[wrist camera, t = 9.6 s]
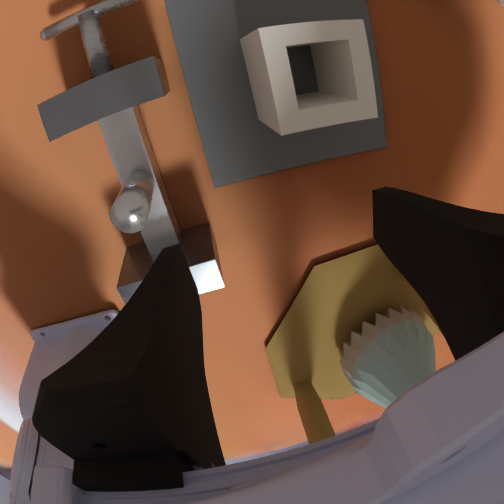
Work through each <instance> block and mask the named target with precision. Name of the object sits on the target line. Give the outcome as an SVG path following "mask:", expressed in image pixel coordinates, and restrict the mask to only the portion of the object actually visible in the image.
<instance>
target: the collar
mask: <svg viewBox="0 0 504 504" xmlns="http://www.w3.org/2000/svg"><path fill="white" fill-rule="evenodd" d="M240 43H241V47H242V51H243V55H244V59H245V64H246V68H247V72H248V76H249V80H250V85H251V89H252V93H253V98H254V102H255V107H256V111H257V116H258V120H260V121H261V122H263V123H264V124H266V125H267V126H268V127H270V128H271V129H273V130H274V131H276V132H277V133H278V134H280V135H281V136H283V135H287V134H291V133H296V132H301V131H305V130H310V129H315V128H320V127H325V126H331V125H336V124H341V123H347V122H353V121H359V120H365V119H371V118H378V112H377V103H376V94H375V87H374V79H373V72H372V65H371V59H370V53H369V47H368V42H367V36H366V31H365V26H364V21H363V19H352V20H328V21H314V22H302V23H293V24H284V25H277V26H270V27H263V28H258V29H256V30H254V31H253V32H251V33H249V34H248V35H246V36H245V37H243V38H241V39H240ZM305 45H310V48H311V53H312V58H313V63H314V68H315V73H316V79H317V84H318V90H319V91H317V92H311V93H305V94H300V95H296V93H295V88H294V83H293V78H292V73H291V68H290V63H289V58H288V54H287V49H286V48H290V47H297V46H305Z"/></svg>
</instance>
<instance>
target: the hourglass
mask: <svg viewBox="0 0 504 504" xmlns="http://www.w3.org/2000/svg"><path fill="white" fill-rule="evenodd" d="M438 330H440V328H439V326H438V324H437V322H436V321H435V319H434V317H433V316H432V314H431V312H430V311H429V309H428V307H427V306H426V304H425V303H424V301H423V300H422V299H421V297H420V296H419V295H418V293H417V292H416V291H415V290H414V288H413V287H412V286H411V285H410V284H409V283H408V281H407V280H406V279H405V278H404V277H403V275H402V274H401V273H400V272H399V271H398V270H397V269H396V267H395V266H394V265H393V264H392V263H391V262H390V260H389V259H388V258H387V257H386V255H385V254H384V252H383V251H382V250H381V248H380V246H379V245H378V244H377V245H374V246H372V247H369V248H366V249H363V250H360V251H357V252H354V253H351V254H349V255H346V256H343V257H340V258H337V259H334V260H331V261H328V262H325V263H322V264H319V265H316V266H314V268H313V269H312V271H311V273H310V275H309V276H308V278H307V280H306V282H305V283H304V285H303V287H302V288H301V290H300V292H299V294H298V295H297V297H296V299H295V300H294V302H293V304H292V306H291V307H290V309H289V311H288V312H287V314H286V316H285V317H284V319H283V321H282V322H281V324H280V326H279V327H278V329H277V331H276V332H275V334H274V336H273V337H272V339H271V340H270V342H269V344H268V345H267V347H266V351H267V354H268V358H269V361H270V364H271V368H272V371H273V374H274V377H275V381H276V384H277V387H278V390H279V393H280V397H285V398H296V402H297V407H298V411H299V414H300V417H301V420H302V423H303V426H304V429H305V432H306V436H307V439H308V442H309V444H312V443H315V442H318V441H321V440H324V439H327V438H330V437H333V436H336V435H335V433H334V430H333V428H332V426H331V423H330V421H329V418H328V416H327V413H326V411H325V409H324V406H323V404H322V401H321V399H342V398H345V397H348V396H350V395H353V394H355V393H359V394H360V395H362V396H364V397H365V398H367V399H369V400H371V401H373V402H375V403H376V404H378V405H380V406H382V407H384V408H387V407H388V405H390V404H391V403H392V402H393V401H394V400H396V399H397V398H398V397H399V396H400V395H401V394H403V393H404V392H405V391H406V390H407V389H408V388H410V387H411V386H413V385H415V384H416V383H418V382H419V381H421V380H423V379H424V378H426V377H427V376H429V375H430V374H432V373H434V372H435V347H434V340H433V336H434V335H435V334H436V333H437V331H438ZM440 331H441V330H440ZM441 333H442V332H441ZM442 334H443V333H442Z"/></svg>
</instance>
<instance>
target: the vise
mask: <svg viewBox="0 0 504 504" xmlns="http://www.w3.org/2000/svg"><path fill="white" fill-rule="evenodd" d="M137 1H138V0H104V1H101V2H99V3H97V4H94V5H92V6H89V7H87V8H85V9H83V10H80V11H78V12H76V13H74V14H72V15H70V16H68V17H65V18H63V19H61V20H59V21H57V22H56V23H54V24H52V25H50V26H48V27H46V28H44V29H43V30H42V31H41V33H40V38H41V39H42V40H44V41H47V40H49V39H51V38H53V37H55V36H57V35H59V34H61V33H63V32H65V31H67V30H69V29H71V28H74V27H76V26H78V25H79V30H80V34H81V38H82V42H83V46H84V49H85V53H86V57H87V61H88V64H89V68H90V71H91V75H92V78H93V79H90V80H88V81H86V82H84V83H81V84H79V85H77V86H75V87H73V88H70V89H68V90H66V91H64V92H62V93H60V94H58V95H56V96H54V97H52V98H50V99H48V100H46V101H44V102H42V103H41V104H39V105H37V106H38V109H39V112H40V116H41V119H42V122H43V125H44V127H45V130H46V133H47V136H48V139H49V142H50V141H52V140H54V139H57V138H59V137H61V136H63V135H65V134H67V133H69V132H72V131H74V130H76V129H78V128H81V127H83V126H85V125H87V124H90V123H92V122H95V121H97V120H98V121H99V124H100V127H101V130H102V133H103V136H104V139H105V141H106V144H107V147H108V150H109V153H110V156H111V158H112V161H113V164H114V167H115V169H116V172H117V175H118V177H119V180H120V183H121V185H122V187H121V189H120V191H119V193H118V195H117V197H116V199H115V201H114V203H113V205H112V208H111V211H110V218H111V221H112V223H113V225H114V226H115V227H116V228H117V229H118V230H120V231H122V232H124V233H135V232H138V231H140V232H141V234H142V237H143V239H144V241H145V242H144V243H141V244H138V245H135V246H132V247H128V248H127V249H126V252H125V256H124V260H123V264H122V268H121V272H120V276H119V280H118V284H117V290H118V291H119V293H120V295H121V297H122V298H123V300H124V302H125V304H126V303H127V302H128V301H129V299H130V298H131V296H132V295H133V294H134V292H135V291H136V289H137V288H138V286H139V285H140V284H141V282H142V281H143V279H144V278H145V276H146V274H147V273H148V271H149V270H150V268H151V267H152V265H153V263H154V262H155V260H156V258H157V257H158V255H159V254H160V252H161V251H162V249H163V248H165V247H169V246H172V245H176V244H179V243H180V245H181V248H182V250H183V253H184V256H185V258H186V261H187V263H188V266H189V268H190V271H191V273H192V276H193V278H194V281H195V283H196V286H197V288H198V294H202V293H206V292H209V291H213V290H216V289H220V288H223V287H225V286H224V281H223V276H222V271H221V266H220V261H219V255H218V250H217V246H216V243H215V240H214V236H213V233H212V230H211V227H210V224H209V223H208V224H204V225H201V226H197V227H194V228H190V229H187V230H184V231H180V228H179V226H178V223H177V220H176V217H175V215H174V212H173V209H172V206H171V203H170V200H169V198H168V195H167V192H166V189H165V186H164V183H163V180H162V177H161V174H160V171H159V168H158V165H157V162H156V159H155V156H154V153H153V150H152V147H151V144H150V141H149V138H148V135H147V132H146V128H145V125H144V122H143V119H142V116H141V112H140V109H139V106H138V105H139V104H142V103H145V102H148V101H151V100H154V99H157V98H160V97H163V96H165V95H166V94H167V93H168V92H169V91H170V89H169V86H168V82H167V78H166V75H165V71H164V67H163V64H162V60H160V59H159V58H157V57H155V56H151V57H148V58H145V59H142V60H139V61H136V62H134V63H131V64H128V65H125V66H123V67H120V68H117V69H115V70H114V69H113V65H112V62H111V58H110V54H109V51H108V47H107V43H106V39H105V35H104V31H103V27H102V23H101V19H100V16H101V15H103V14H106V13H108V12H111V11H114V10H116V9H119V8H122V7H124V6H127V5H130V4H133V3H135V2H137Z"/></svg>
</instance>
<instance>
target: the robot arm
mask: <svg viewBox="0 0 504 504" xmlns="http://www.w3.org/2000/svg"><path fill="white" fill-rule="evenodd" d="M372 194H373V237H374V238H375V240H376V242H377V243H378V245H379V246H380V248H381V250H382V251H383V252H384V254H385V255H386V257H387V258H388V259H389V260H390V262H391V263H392V264H393V265H394V266H395V267H396V269H397V270H398V271H399V272H400V273H401V274H402V275H403V277H404V278H405V279H406V280H407V281H408V283H409V284H410V285H411V286H412V287H413V288H414V290H415V291H416V292H417V293H418V295H419V296H420V297H421V299H422V300H423V301H424V303H425V304H426V306H427V307H428V309H429V311H430V312H431V314H432V316H433V317H434V319H435V321H436V322H437V324H438V326H439V328H440V330H441V332H442V333H443V335H444V337H445V339H446V341H447V343H448V345H449V347H450V350H451V352H452V354H453V356H454V358H455V361H454V362H452V363H450V364H449V365H447V366H445V367H443V368H441V369H439V370H437V371H435V372H434V373H432V374H430V375H429V376H427V377H426V378H424V379H423V380H421V381H419V382H418V383H416V384H415V385H413V386H411V387H410V388H408V389H407V390H406V391H405V392H404V393H403V394H401V395H400V396H399V397H398V398H397V399H396V400H394V401H393V402H392V403H391V404H390V405H388V407H387V408H386V410H385V411H384V413H383V414H382V416H381V417H380V418H379V419H377V420H374V421H372V422H370V423H367V424H365V425H362V426H360V427H357V428H354V429H352V430H349V431H347V432H344V433H341V434H338V435H336V436H333V437H330V438H327V439H324V440H321V441H318V442H315V443H312V444H309V445H305V446H302V447H299V448H295V449H292V450H288V451H285V452H281V453H277V454H274V455H270V456H266V457H262V458H258V459H253V460H249V461H244V462H240V463H235V464H230V465H226V464H225V461H224V457H223V453H222V450H221V446H220V442H219V438H218V434H217V430H216V426H215V422H214V417H213V412H212V408H211V403H210V398H209V393H208V387H207V382H206V376H205V368H204V354H203V332H202V311H201V305H200V299H199V294H198V288H197V286H196V283H195V281H194V278H193V276H192V273H191V271H190V268H189V266H188V263H187V261H186V258H185V256H184V253H183V250H182V248H181V245H180V243H179V244H176V245H172V246H169V247H165V248H163V249H162V251H161V252H160V254H159V255H158V257H157V258H156V260H155V262H154V263H153V265H152V267H151V268H150V270H149V271H148V273H147V274H146V276H145V278H144V279H143V281H142V282H141V284H140V285H139V286H138V288H137V289H136V291H135V292H134V294H133V295H132V296H131V298H130V299H129V301H128V302H127V303H126V305H125V306H124V307H123V308H122V310H121V311H120V312H118V311H116V310H114V309H111V310H107V311H103V312H99V313H96V314H92V315H88V316H84V317H80V318H77V319H73V320H69V321H65V322H61V323H57V324H54V325H50V326H46V327H42V328H38V329H34V330H32V331H31V337H32V338H33V339H34V341H35V344H34V347H33V349H32V352H31V355H30V358H29V361H28V364H27V367H26V370H25V373H24V376H23V380H22V383H21V386H20V391H19V406H20V411H21V415H22V417H23V422H22V424H21V427H20V431H19V435H18V439H17V443H16V447H15V452H14V458H13V463H12V470H11V479H10V487H11V491H10V504H504V214H498V213H491V212H485V211H479V210H475V209H470V208H465V207H461V206H457V205H453V204H449V203H446V202H442V201H439V200H435V199H432V198H428V197H425V196H422V195H418V194H415V193H411V192H408V191H404V190H400V189H396V188H390V187H384V188H380V189H376V190H372ZM106 316H109V317H106Z"/></svg>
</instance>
